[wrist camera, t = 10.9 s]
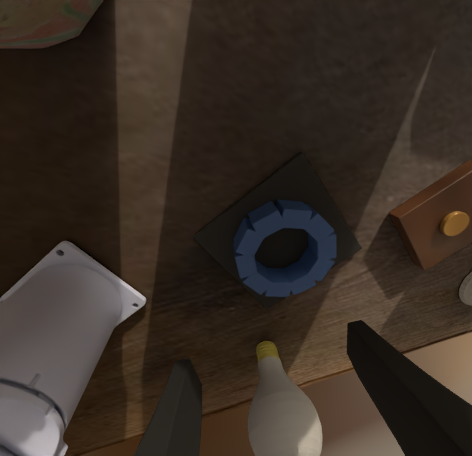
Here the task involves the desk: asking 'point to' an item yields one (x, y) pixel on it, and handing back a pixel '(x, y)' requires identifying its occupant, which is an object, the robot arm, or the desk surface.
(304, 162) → the mat
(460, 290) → the figurine
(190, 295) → the desk surface
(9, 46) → the potted plant
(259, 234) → the ring
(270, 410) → the light bulb
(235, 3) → the desk surface
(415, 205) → the platform
